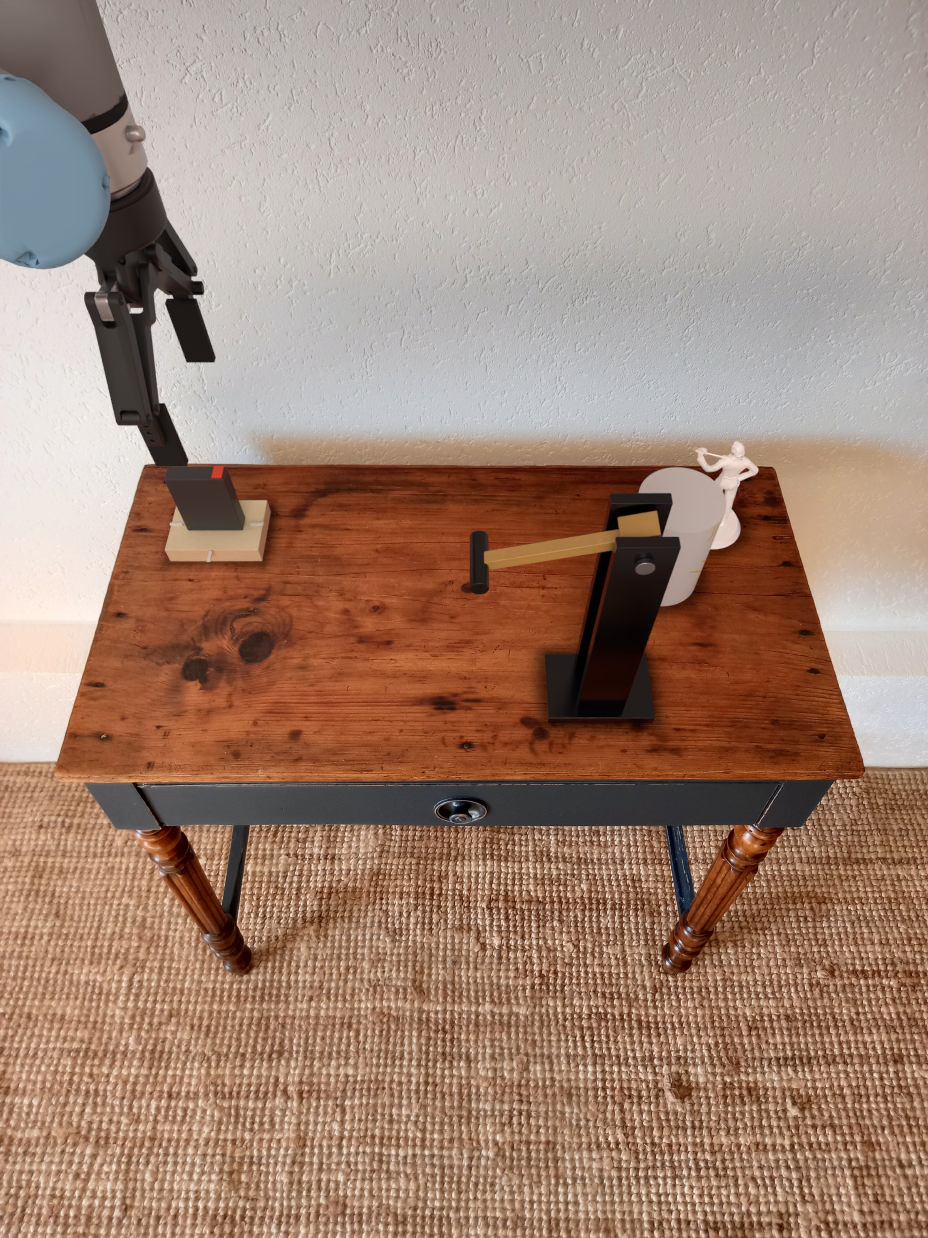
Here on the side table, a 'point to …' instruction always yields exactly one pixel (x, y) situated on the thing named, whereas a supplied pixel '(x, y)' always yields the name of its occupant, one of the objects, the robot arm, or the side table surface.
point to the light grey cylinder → (688, 523)
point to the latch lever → (552, 548)
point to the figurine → (728, 488)
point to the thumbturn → (205, 498)
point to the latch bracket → (616, 625)
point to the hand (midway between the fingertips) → (187, 409)
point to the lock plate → (221, 538)
